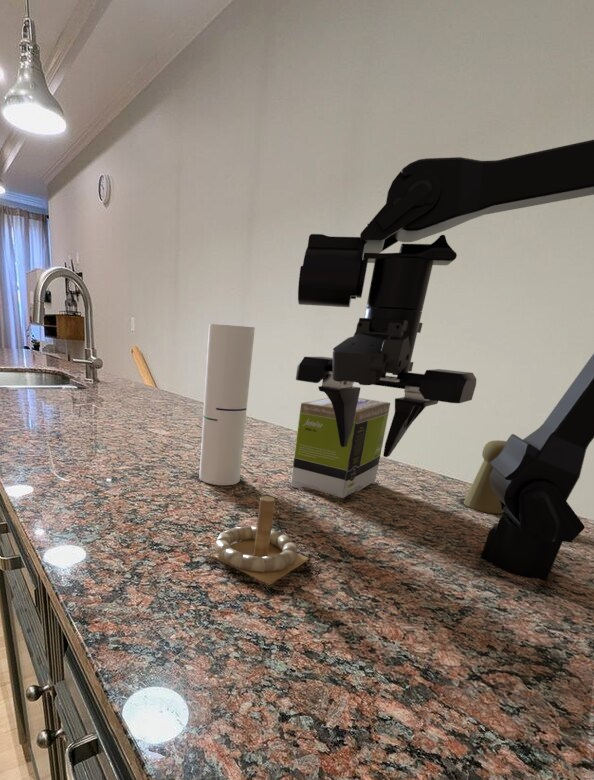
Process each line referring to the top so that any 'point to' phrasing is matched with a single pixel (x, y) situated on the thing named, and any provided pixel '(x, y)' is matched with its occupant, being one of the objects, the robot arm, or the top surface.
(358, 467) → the tea box
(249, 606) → the top surface
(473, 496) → the game pawn
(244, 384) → the cylindrical container
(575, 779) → the top surface
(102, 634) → the top surface
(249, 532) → the bracelet
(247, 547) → the post
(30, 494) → the top surface
